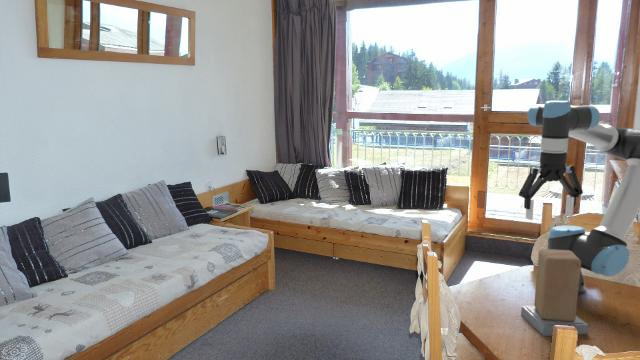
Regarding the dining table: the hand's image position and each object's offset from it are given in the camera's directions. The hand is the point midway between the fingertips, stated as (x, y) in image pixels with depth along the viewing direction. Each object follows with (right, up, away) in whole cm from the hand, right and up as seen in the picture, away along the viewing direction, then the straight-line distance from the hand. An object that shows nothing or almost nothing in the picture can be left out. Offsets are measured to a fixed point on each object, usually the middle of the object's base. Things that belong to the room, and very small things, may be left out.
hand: (549, 217), depth 157 cm
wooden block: (+1, -31, -1) cm, 31 cm away
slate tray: (+1, -34, -1) cm, 34 cm away
